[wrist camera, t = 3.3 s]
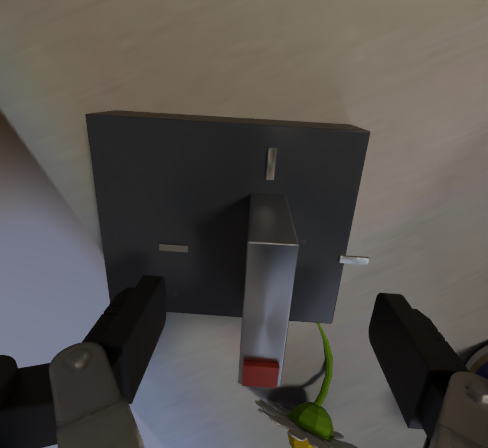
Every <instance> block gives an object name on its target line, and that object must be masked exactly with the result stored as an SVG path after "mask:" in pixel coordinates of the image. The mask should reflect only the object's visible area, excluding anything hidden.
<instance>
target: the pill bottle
mask: <svg viewBox="0 0 488 448" xmlns="http://www.w3.org/2000/svg"><path fill="white" fill-rule="evenodd" d="M465 366H466V367H467V369H468V370H469V371H470V373H474V374H477V375H480V376H482V377H484V378H486V379H488V345H487V346H485V347H483V348H481V349H480V350H479V351H477V352H476V353H475V354H474V355H473V356H472V357H471V358H470V359H469V360H468V362H467V364H466V365H465Z"/></svg>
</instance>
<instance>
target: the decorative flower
mask: <svg viewBox="0 0 488 448" xmlns="http://www.w3.org/2000/svg"><path fill="white" fill-rule="evenodd" d="M317 324H318V326H319V329H320V332H321V335H322V338H323V344H324V351H325V357H326V372H325V378H324V381H323V384H322V387H321V390H320V393H319V395H318V397H317V399H316V401H315V402H314V403H313V402H306V403H301V404H299V405H298V406H296V407H295V408H294V409H293V410H292V411H291V410H288V409H286V408H284V407H283V408H282V407H281V406H280V405H278V404H277V403H275V402H273V401H271V400H269V402H270V404H271V405H272V406H274V407H275V408H276V409H277V410H278V411H277V410H276V409H275V408H273V407H272V406H270V405H269V404H267V403H266V402H264V401H263V400H260V399H259V401H255V402H256V404H257V405H259V406H260V407H261V408H263V409H265V410H266V411H268V412H270V413H272V414H273V415H272V414H270V413H268V412H266V411H264V410H262V409H260V408H259V409H258V411H259V412H260V413H262V414H263V415H265V416H266V417H268V418H269V419H270V420H271V421H273V422H274V423H276V424H277V425H279V426H281V427H284V428H287V429H289V431H288V432H287V433H288V437H289V442H290V445H291V447H292V448H357V447H356V446H354V445H353V444H350V443H347V442H343V441H340V440H336V439H343V438H344V436H343V435H342V434H340V433H338V432H335V431H333V425H332V421H331V418H330V416H329V415H328V413H327V412H326V410H325V409H324V408H322V407H321V405H322V403H323V400H324V398H325V396H326V394H327V391H328V387H329V384H330V380H331V377H332V360H333V358H332V353H331V349H330V346H329V343H328V340H327V338H326V336H325V334H324V332H323V330H322V328H321V325H320V323H317ZM279 411H280V412H279ZM281 412H282V413H281ZM274 415H276V416H274ZM334 438H335V439H334Z"/></svg>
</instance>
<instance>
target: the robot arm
mask: <svg viewBox="0 0 488 448" xmlns="http://www.w3.org/2000/svg"><path fill="white" fill-rule="evenodd" d="M165 320H166V288H165V278H164V277H163V276H151V275H143V276H142V278H141V279H140V281H139V282H138V284H137V285H136V287H135V288H132V287H127V288H126V289H124V290H123V291H121V292H120V293H118V294H117V295H116V296H115V297H114V299H113V300H112V302H111V303H110V304H109V306H108V307H107V308H106V310H105V311H104V314H102V315H101V317H100V318H99V319H98V321H97V322H96V324H95V325H94V326H93V328H92V329H91V331H90V332H89V333H88V335H87V336H86V337H85V339H84V340H83V341H82V343H78V344H74V345H72V346H69V347H67V348H65V349H64V350H62V351H61V352H59V353H58V354H57V355H56V356H55V357H54V358H53V360H52V361H51V363H48V364H42V365H36V366H30V367H24V368H18V367H17V364H16V361H15V360H14V359H13V358H12V357H10V356H6V355H0V448H43V447H46V446H51V445H55V444H58V448H145V446H144V444H143V441H142V438H141V435H140V433H139V430H138V428H137V425H136V422H135V419H134V417H133V414H132V412H131V409H130V406H129V404H132V402H133V399H134V397H135V395H136V392H137V390H138V387H139V385H140V383H141V380H142V378H143V376H144V373H145V371H146V368H147V366H148V364H149V361H150V359H151V356H152V354H153V352H154V349H155V347H156V344H157V342H158V340H159V337H160V335H161V333H162V330H163V328H164V325H165ZM369 340H370V343H371V346H372V348H373V350H374V353H375V355H376V357H377V359H378V361H379V364H380V366H381V368H382V370H383V373H384V375H385V377H386V379H387V382H388V384H389V386H390V388H391V391H392V393H393V395H394V397H395V400H396V402H397V404H398V406H399V408H400V411H401V413H402V415H403V417H404V420H405V422H406V424H407V426H408V428H414V429H424V431H425V433H426V435H427V437H426V440H425V442H424V445H423V448H488V379H486V378H484V377H482V376H480V375H477V374H474V373H470V371H469V370H468V369H467V367H466V366H465V365H464V363H463V362H462V361H461V360H460V358H459V357H458V356H457V354H456V353H455V352H454V350H453V349H452V348H451V346H450V345H449V344H448V342H447V341H445V339H444V337H443V336H442V335H441V333H440V332H438V329H437V328H436V327H435V325H434V324H433V323H432V321H431V320H430V319H429V318H428V317H426V316H425V315H424V314H422V313H421V312H420V311H418V310H417V309H412V308H411V306H410V305H409V303H408V302H407V301H406V299H405V298H404V296H403V295H401V294H389V293H379V294H378V295H377V298H376V301H375V305H374V309H373V313H372V317H371V321H370V325H369Z"/></svg>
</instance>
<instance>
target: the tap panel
mask: <svg viewBox="0 0 488 448" xmlns="http://www.w3.org/2000/svg"><path fill="white" fill-rule="evenodd" d="M86 122H87V130H88V137H89V145H90V153H91V160H92V168H93V175H94V183H95V191H96V198H97V206H98V214H99V221H100V229H101V236H102V244H103V252H104V259H105V267H106V274H107V282H108V290H109V297H110V303H111V302H112V300H113V299H114V297H115V296H116V295H117V294H118V293H120V292H121V291H123V290H124V289H126V288H127V287H132V288H135V287H136V285H137V284H138V282H139V281H140V279H141V278H142V276H143V275H151V276H163V277H164V278H165V288H166V312H176V313H190V314H204V315H218V316H232V317H242V314H243V298H244V283H245V267H246V252H247V237H248V224H249V211H250V198H251V194H262V195H277V196H286V199H287V202H288V206H289V210H290V213H291V217H292V221H293V225H294V228H295V232H296V236H297V240H298V243H299V250H298V257H297V265H296V272H295V280H294V287H293V294H292V302H291V309H290V316H289V321H301V322H315V323H329V324H331V323H332V320H333V315H334V310H335V305H336V300H337V295H338V290H339V285H340V280H341V275H342V270H343V265H344V263H349V264H364V265H368V263H369V259H370V258H369V257H362V256H347V255H346V250H347V245H348V240H349V235H350V230H351V225H352V220H353V215H354V210H355V205H356V200H357V195H358V190H359V185H360V180H361V175H362V170H363V165H364V160H365V155H366V150H367V146H368V141H369V136H370V131H368V130H365V129H362V128H359V127H356V126H353V125H348V124H332V123H315V122H299V121H282V120H265V119H249V118H232V117H216V116H199V115H182V114H166V113H149V112H133V111H116V110H115V111H107V112H98V113H90V114H86Z"/></svg>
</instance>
